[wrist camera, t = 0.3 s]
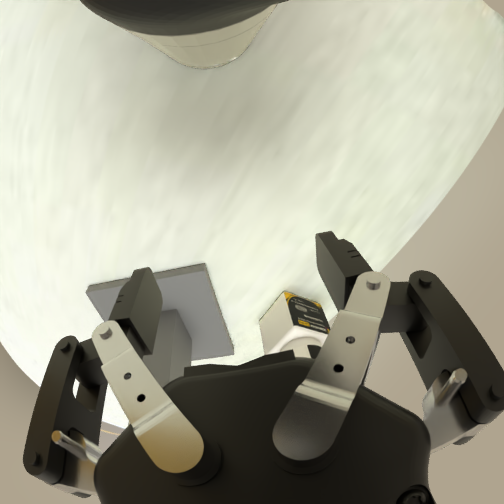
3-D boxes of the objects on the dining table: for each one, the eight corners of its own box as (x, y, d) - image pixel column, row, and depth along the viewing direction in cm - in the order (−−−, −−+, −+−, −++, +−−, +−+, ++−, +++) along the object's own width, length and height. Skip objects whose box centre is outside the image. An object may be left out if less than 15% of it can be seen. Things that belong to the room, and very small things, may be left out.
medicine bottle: (321, 303, 41) (346, 366, 31) (294, 332, 44) (311, 393, 34) (283, 289, 39) (303, 358, 29) (257, 321, 42) (269, 388, 32)
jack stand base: (88, 285, 35) (54, 366, 23) (204, 263, 35) (201, 358, 23) (138, 359, 45) (128, 429, 33) (233, 347, 45) (241, 425, 33)
